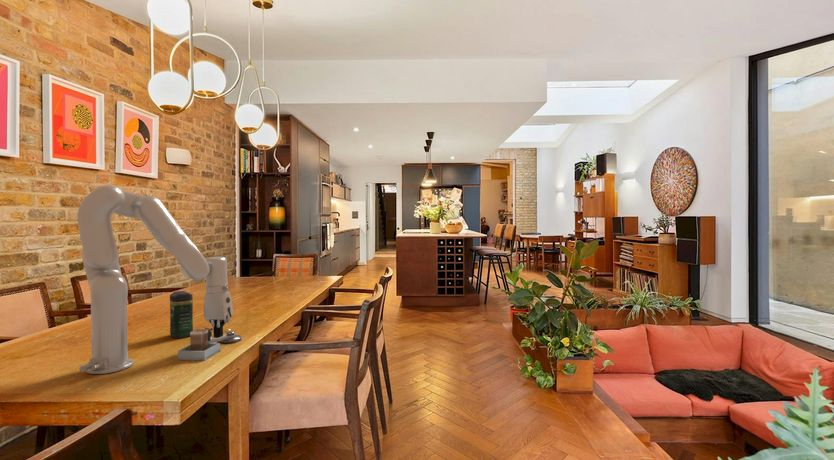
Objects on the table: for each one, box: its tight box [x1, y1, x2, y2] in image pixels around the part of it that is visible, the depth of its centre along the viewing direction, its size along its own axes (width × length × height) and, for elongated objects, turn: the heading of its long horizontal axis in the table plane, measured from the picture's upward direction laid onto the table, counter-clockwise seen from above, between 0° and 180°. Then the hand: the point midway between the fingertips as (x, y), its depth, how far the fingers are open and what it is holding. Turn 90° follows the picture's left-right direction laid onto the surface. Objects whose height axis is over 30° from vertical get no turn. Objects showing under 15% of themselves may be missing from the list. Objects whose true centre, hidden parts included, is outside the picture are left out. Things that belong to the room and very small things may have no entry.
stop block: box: [189, 328, 208, 351], centre depth 149 cm, size 4×4×8 cm
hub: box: [219, 334, 242, 344], centre depth 167 cm, size 8×8×1 cm
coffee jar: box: [169, 290, 194, 339], centre depth 173 cm, size 10×8×19 cm
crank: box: [204, 326, 236, 343], centre depth 163 cm, size 12×4×6 cm, turn 145°
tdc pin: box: [224, 328, 232, 335], centre depth 172 cm, size 2×2×3 cm
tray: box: [177, 342, 221, 361], centre depth 149 cm, size 10×10×3 cm
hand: (218, 336), depth 158 cm, fingers closed
